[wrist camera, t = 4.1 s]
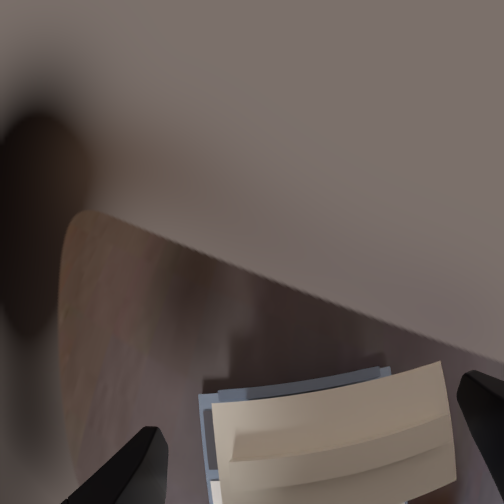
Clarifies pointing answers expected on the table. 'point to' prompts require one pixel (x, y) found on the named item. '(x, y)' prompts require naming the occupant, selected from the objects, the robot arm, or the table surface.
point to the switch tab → (339, 443)
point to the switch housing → (266, 393)
